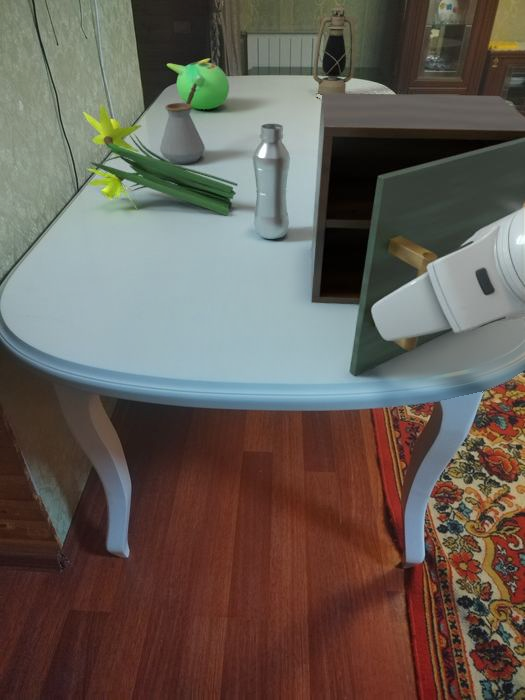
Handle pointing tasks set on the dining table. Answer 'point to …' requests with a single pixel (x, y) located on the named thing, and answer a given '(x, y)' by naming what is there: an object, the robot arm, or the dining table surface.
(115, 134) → the daffodil flowers
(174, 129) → the coffee pot
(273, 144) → the silver bottle
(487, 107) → the cupboard
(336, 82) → the lantern
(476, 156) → the cupboard door
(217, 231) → the dining table surface
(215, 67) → the toy bird
